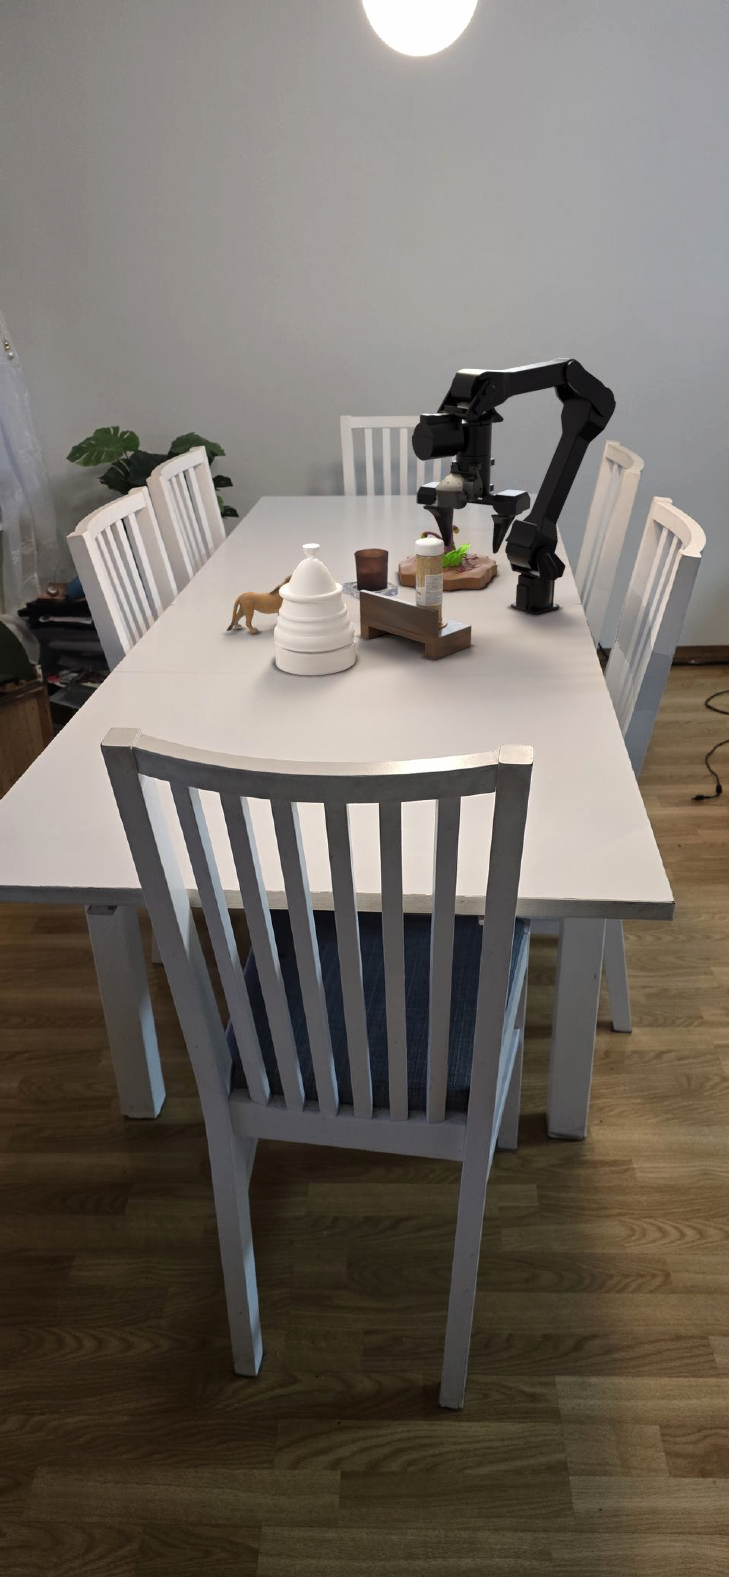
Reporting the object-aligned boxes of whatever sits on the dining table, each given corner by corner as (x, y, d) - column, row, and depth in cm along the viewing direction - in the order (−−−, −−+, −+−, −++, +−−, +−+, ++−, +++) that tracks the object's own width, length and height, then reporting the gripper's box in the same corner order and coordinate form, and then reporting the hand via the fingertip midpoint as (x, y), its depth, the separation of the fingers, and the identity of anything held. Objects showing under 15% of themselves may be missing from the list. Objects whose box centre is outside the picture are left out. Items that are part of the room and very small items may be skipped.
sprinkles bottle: (412, 619, 165) (412, 538, 159) (439, 616, 166) (440, 536, 159) (418, 627, 161) (418, 545, 155) (446, 625, 162) (447, 543, 155)
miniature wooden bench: (397, 624, 174) (396, 579, 171) (471, 645, 163) (472, 598, 160) (360, 636, 169) (359, 590, 165) (434, 660, 158) (434, 611, 154)
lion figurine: (303, 618, 178) (300, 569, 174) (312, 627, 174) (309, 577, 170) (223, 629, 174) (218, 579, 170) (230, 638, 170) (225, 587, 165)
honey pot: (280, 647, 165) (273, 539, 157) (357, 646, 165) (354, 538, 156) (271, 675, 154) (262, 560, 145) (353, 675, 153) (350, 559, 145)
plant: (390, 589, 193) (389, 531, 188) (404, 562, 210) (403, 509, 205) (493, 592, 190) (496, 533, 184) (499, 564, 207) (501, 510, 201)
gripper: (397, 457, 159) (398, 553, 166) (501, 466, 150) (497, 568, 157) (434, 446, 167) (433, 539, 174) (534, 455, 158) (529, 552, 165)
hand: (471, 549), depth 167 cm, fingers open, 9 cm apart
